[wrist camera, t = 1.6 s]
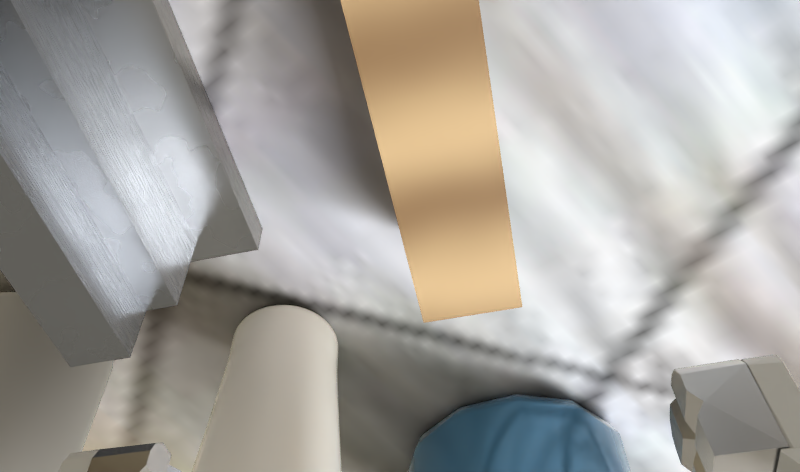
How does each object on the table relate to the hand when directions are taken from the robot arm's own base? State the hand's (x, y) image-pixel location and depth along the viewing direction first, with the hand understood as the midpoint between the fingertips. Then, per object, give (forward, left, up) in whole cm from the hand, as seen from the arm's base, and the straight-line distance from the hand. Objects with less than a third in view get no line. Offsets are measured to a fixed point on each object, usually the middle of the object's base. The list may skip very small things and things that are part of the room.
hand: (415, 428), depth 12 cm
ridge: (+13, 0, -20) cm, 24 cm away
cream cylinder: (+9, +17, -20) cm, 28 cm away
